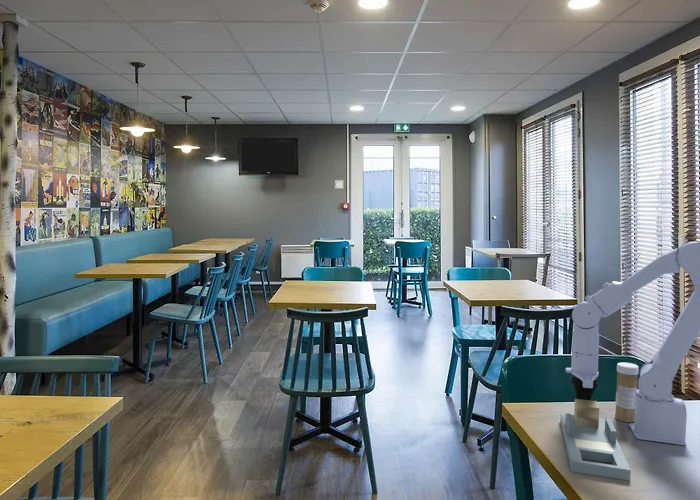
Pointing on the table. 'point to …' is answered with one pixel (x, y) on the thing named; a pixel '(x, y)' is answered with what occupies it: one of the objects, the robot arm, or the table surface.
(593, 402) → the block
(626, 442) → the table surface
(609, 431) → the deck
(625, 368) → the sprinkles bottle
